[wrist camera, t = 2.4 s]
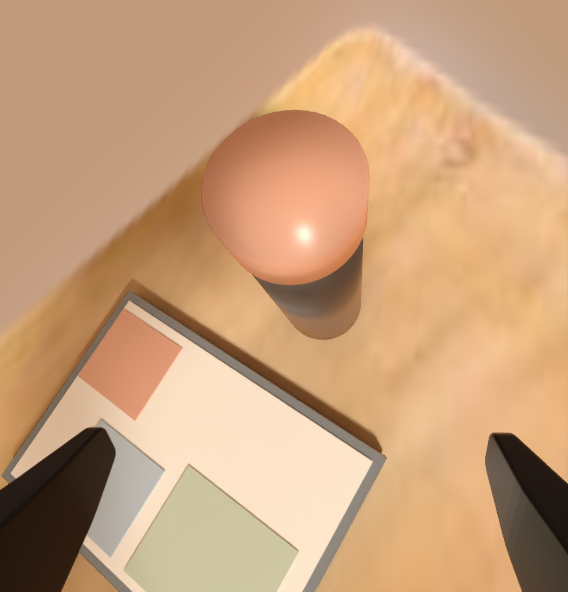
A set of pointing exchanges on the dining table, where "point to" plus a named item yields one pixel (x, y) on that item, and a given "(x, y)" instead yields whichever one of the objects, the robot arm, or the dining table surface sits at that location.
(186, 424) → the picture board
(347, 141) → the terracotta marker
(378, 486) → the dining table surface
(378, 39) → the dining table surface
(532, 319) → the dining table surface
